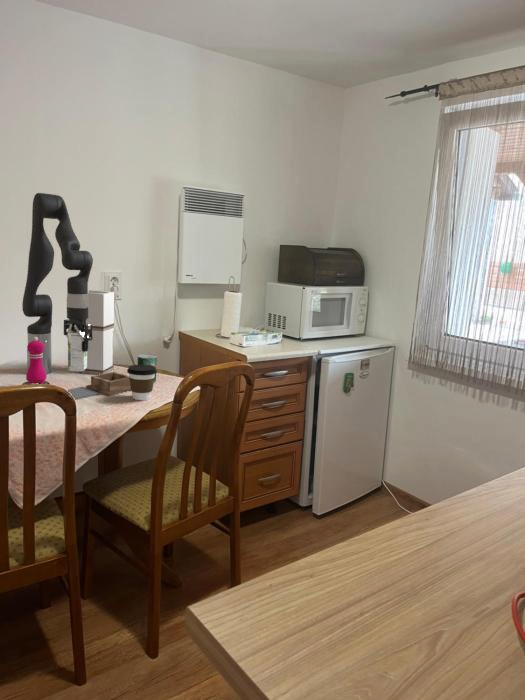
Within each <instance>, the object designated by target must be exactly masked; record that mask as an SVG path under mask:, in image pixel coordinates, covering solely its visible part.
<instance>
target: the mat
mask: <svg viewBox="0 0 525 700" xmlns="http://www.w3.org/2000/svg"><path fill="white" fill-rule="evenodd" d="M67 390H68V392H70V393H71V394H72V396H73V397H74V398H75V400H74V401H76V400H79V399H84V398H89V397H94V396H98V395H100V394H101V393H99V392H96V391H93V390H90V389H87V388H86V387H83V386H79V387H74V388H70V389H67Z"/></svg>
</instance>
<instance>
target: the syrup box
mask: <svg viewBox="0 0 525 700" xmlns="http://www.w3.org/2000/svg"><path fill="white" fill-rule="evenodd" d="M83 333H84V332H83ZM83 336H84V335H83ZM84 338H85V336H84ZM86 368H87V351H85V352H83V351H82V340H81V337H80V336H79V335H78V333H77V332H73V331H71V332H69V333H68V338H67V371H68V372H78V371H84V370H85V369H86Z"/></svg>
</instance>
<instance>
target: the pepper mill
mask: <svg viewBox="0 0 525 700" xmlns="http://www.w3.org/2000/svg"><path fill="white" fill-rule="evenodd" d="M26 346H27V347H26V351H27V350H28V351H29V358H30V366H29V369H27V372H26V375H25V378H26V379H25V380H26V381H27V382H28V383H45V384H46V382H45V380H47V374H46V372H45V370H44V368H43V365H42V357H43V353H42V352H43V351H44V345H43V343H42V342H40V341H38V338H37V337H34V338H33V341H31V342H30V343H29V344H28V343H27V345H26Z"/></svg>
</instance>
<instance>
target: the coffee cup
mask: <svg viewBox="0 0 525 700" xmlns="http://www.w3.org/2000/svg"><path fill="white" fill-rule="evenodd" d="M126 372H127V373H128V376H129V380H130V387H131V391H130V392H131V396H132V399H133V400H134V399H135V400H134V401H138V400H145V401H148V400H147V399H149V400H150V399H151V396H152V391H153V389H154V384H155V383H154V378H155V373H156V374H157V372H158V369H157V366H156V367H154V366H151V365H138V364H134V365H133V364H132V365H129V366H128V368H127V370H126Z"/></svg>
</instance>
